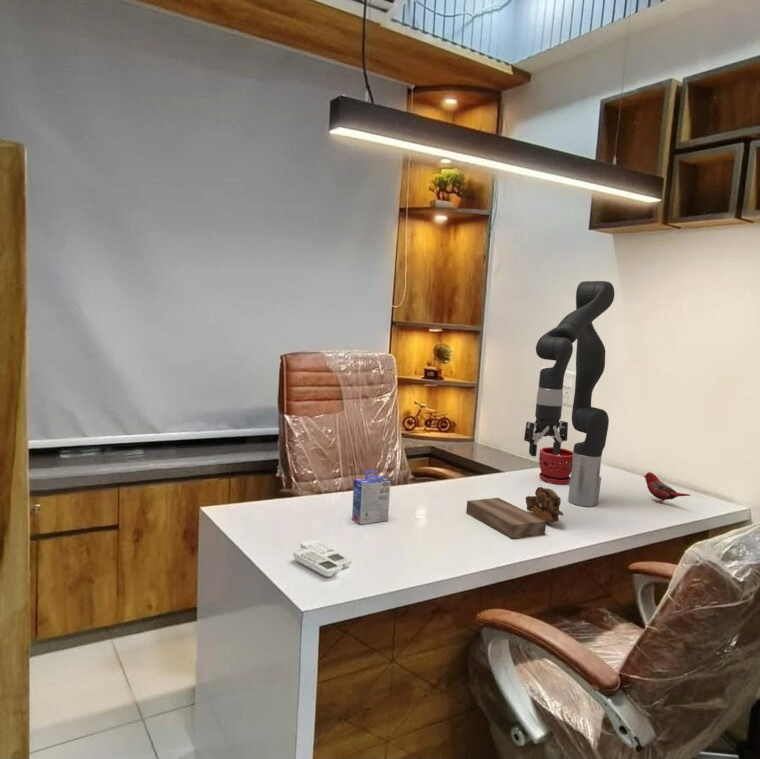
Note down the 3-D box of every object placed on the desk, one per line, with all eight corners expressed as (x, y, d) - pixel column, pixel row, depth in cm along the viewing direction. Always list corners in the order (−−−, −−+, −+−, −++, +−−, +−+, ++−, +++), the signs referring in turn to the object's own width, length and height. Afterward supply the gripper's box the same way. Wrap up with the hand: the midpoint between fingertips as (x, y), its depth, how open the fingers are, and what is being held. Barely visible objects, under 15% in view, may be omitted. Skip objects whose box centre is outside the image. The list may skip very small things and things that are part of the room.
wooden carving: (519, 512, 191) (522, 481, 190) (530, 510, 193) (533, 480, 192) (554, 530, 176) (557, 497, 175) (566, 529, 178) (569, 496, 177)
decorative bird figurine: (643, 496, 218) (646, 470, 217) (690, 512, 204) (694, 483, 203) (638, 497, 217) (641, 470, 215) (686, 513, 202) (690, 484, 201)
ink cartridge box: (379, 515, 179) (382, 467, 177) (389, 521, 174) (392, 472, 173) (350, 519, 174) (353, 470, 172) (359, 525, 169) (363, 475, 167)
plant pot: (530, 476, 236) (533, 446, 235) (560, 476, 239) (563, 447, 238) (547, 486, 224) (550, 454, 222) (578, 486, 227) (582, 455, 225)
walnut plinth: (497, 509, 192) (498, 497, 191) (544, 534, 172) (546, 521, 172) (466, 513, 186) (467, 500, 186) (511, 539, 167) (513, 525, 166)
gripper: (560, 400, 187) (555, 451, 189) (522, 401, 181) (517, 453, 183) (576, 404, 180) (571, 457, 182) (537, 405, 174) (532, 459, 176)
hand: (544, 455), depth 183 cm, fingers open, 8 cm apart
